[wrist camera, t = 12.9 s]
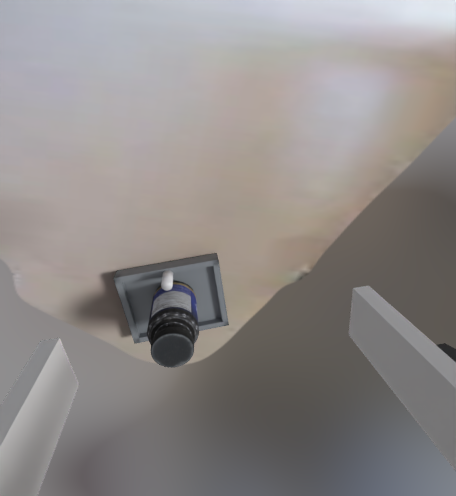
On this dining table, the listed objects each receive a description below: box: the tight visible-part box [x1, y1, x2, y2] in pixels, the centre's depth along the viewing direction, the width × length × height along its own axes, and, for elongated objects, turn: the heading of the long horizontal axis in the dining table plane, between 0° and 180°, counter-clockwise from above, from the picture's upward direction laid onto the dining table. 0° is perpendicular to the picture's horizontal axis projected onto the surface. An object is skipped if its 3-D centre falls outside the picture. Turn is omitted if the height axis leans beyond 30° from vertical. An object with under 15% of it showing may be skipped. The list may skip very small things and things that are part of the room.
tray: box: [113, 253, 229, 343], centre depth 41 cm, size 14×11×5 cm
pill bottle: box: [147, 281, 199, 367], centre depth 37 cm, size 6×6×11 cm
